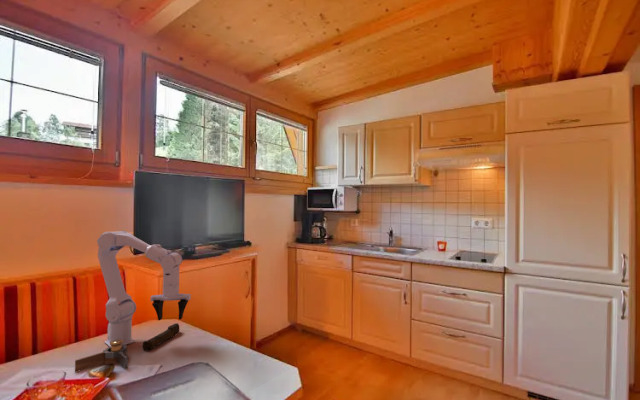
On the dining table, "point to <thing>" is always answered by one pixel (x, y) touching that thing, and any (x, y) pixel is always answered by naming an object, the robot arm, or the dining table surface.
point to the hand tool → (161, 337)
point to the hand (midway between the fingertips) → (170, 319)
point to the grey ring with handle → (118, 355)
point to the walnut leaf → (93, 361)
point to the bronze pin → (116, 345)
